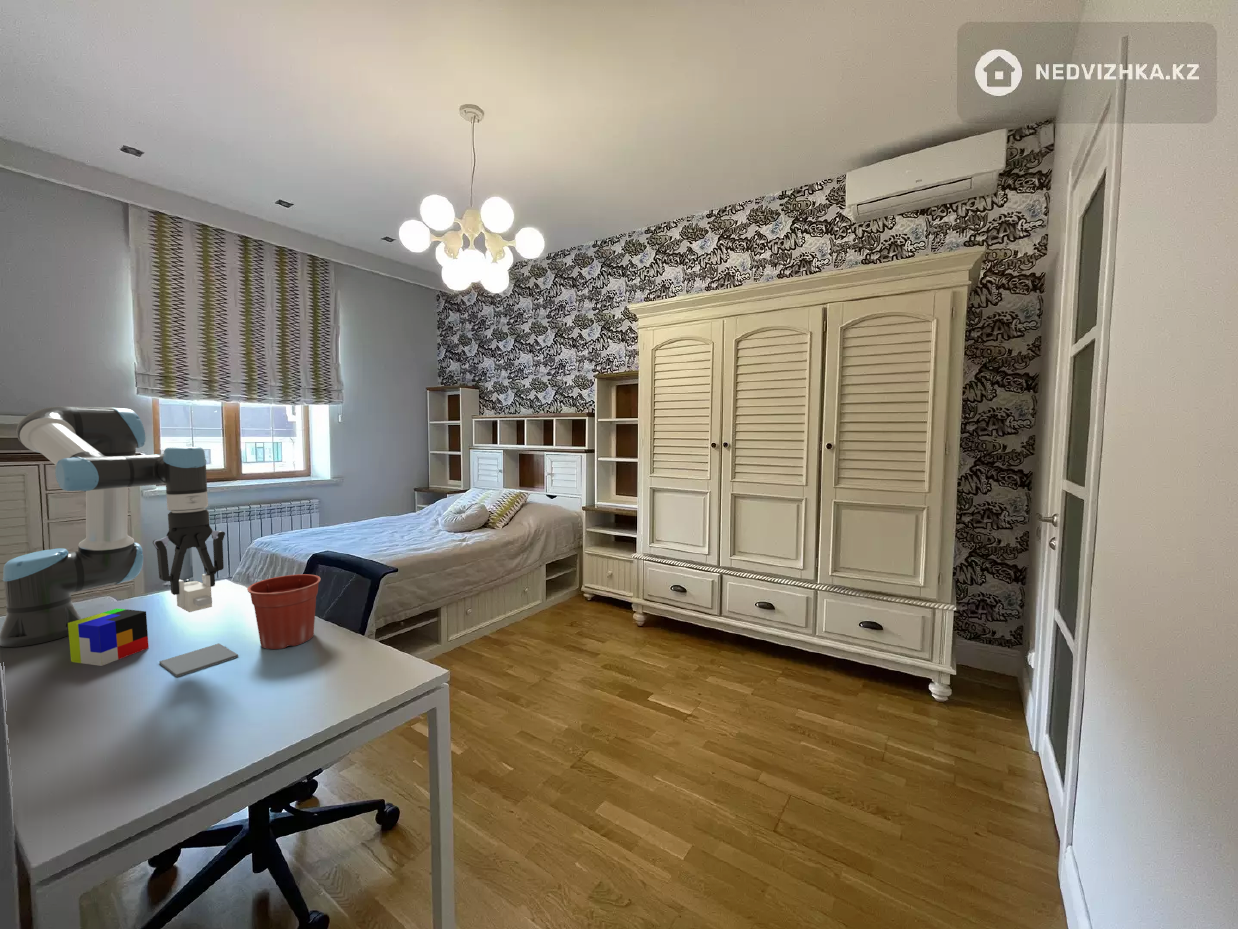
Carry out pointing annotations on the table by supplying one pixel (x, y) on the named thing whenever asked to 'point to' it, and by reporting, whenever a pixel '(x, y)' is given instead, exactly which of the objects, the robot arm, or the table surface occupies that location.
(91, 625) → the puzzle toy
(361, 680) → the table surface
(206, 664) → the coaster
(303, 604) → the flower pot
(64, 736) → the table surface
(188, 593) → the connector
